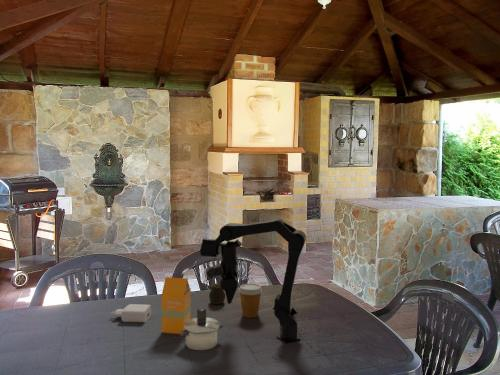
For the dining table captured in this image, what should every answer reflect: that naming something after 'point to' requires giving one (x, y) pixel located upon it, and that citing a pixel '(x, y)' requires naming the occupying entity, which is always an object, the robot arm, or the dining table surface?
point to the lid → (201, 323)
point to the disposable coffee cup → (250, 299)
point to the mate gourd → (216, 294)
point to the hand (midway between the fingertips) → (229, 299)
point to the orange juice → (175, 304)
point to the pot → (200, 339)
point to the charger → (134, 313)
